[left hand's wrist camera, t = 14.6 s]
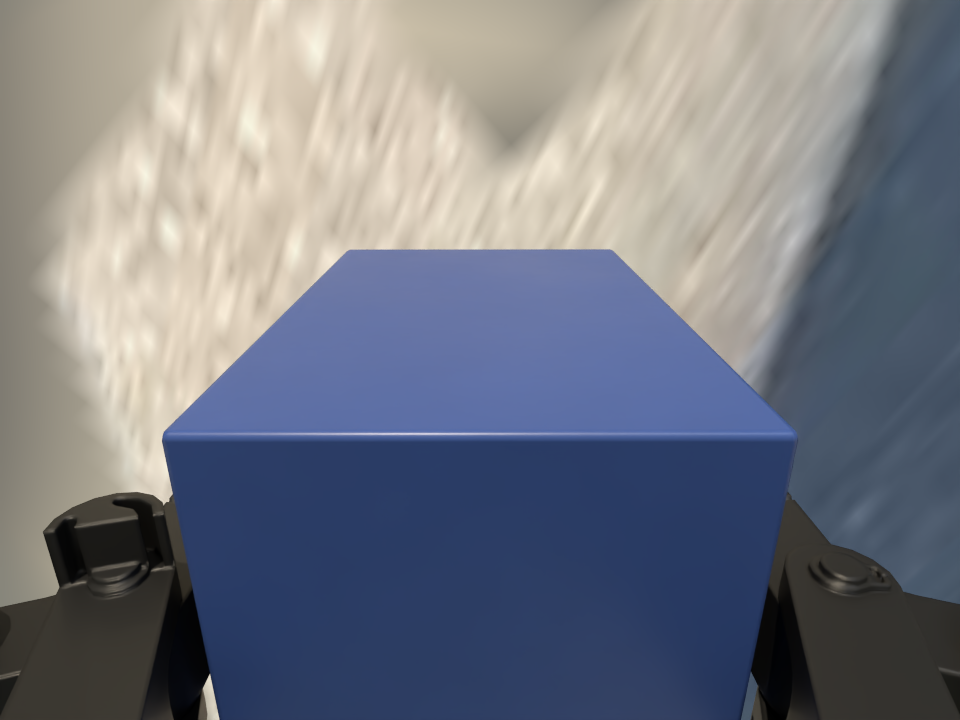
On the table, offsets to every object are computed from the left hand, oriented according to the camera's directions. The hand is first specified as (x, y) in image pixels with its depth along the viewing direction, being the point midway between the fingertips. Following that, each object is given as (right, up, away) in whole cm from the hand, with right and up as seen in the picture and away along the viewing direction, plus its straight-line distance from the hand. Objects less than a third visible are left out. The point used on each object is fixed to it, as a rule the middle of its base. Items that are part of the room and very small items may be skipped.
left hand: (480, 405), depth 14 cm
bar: (0, -7, +3) cm, 8 cm away
